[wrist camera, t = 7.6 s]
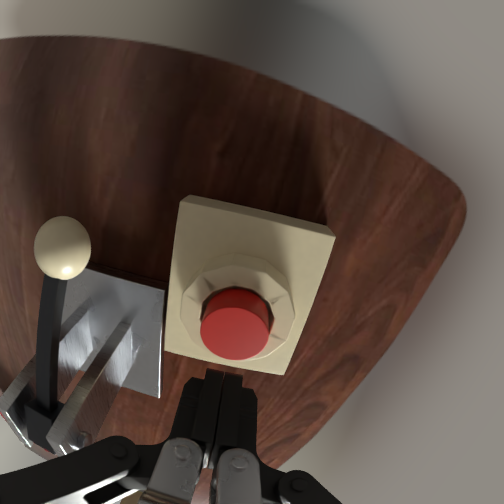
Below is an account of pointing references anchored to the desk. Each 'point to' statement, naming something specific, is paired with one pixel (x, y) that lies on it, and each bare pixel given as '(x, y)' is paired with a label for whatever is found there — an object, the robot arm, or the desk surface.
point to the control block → (243, 274)
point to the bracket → (98, 353)
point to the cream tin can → (132, 498)
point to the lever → (53, 316)
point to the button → (235, 325)
